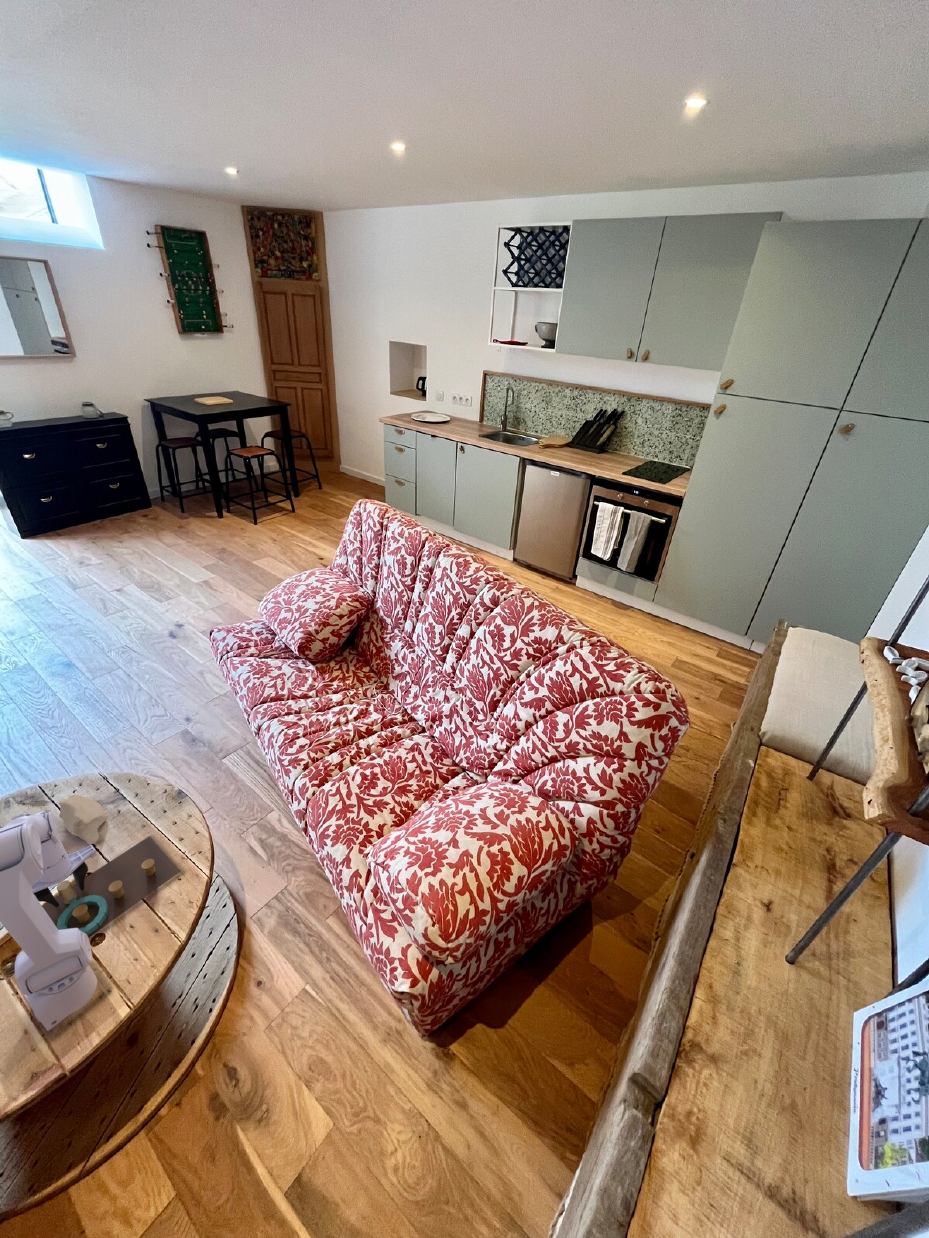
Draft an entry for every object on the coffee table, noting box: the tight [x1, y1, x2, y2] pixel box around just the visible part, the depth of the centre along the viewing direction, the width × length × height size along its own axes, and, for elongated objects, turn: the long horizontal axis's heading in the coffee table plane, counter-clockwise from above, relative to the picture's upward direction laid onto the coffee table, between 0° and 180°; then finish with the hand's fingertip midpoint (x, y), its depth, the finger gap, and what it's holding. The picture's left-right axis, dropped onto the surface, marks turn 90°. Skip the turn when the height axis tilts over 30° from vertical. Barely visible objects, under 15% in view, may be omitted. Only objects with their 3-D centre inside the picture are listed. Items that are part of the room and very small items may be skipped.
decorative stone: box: [58, 794, 108, 846], centre depth 128 cm, size 8×14×8 cm, turn 51°
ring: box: [56, 879, 109, 935], centre depth 109 cm, size 9×13×5 cm
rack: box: [41, 836, 181, 939], centre depth 115 cm, size 23×15×4 cm, turn 144°
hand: (68, 895), depth 112 cm, fingers open, 4 cm apart
